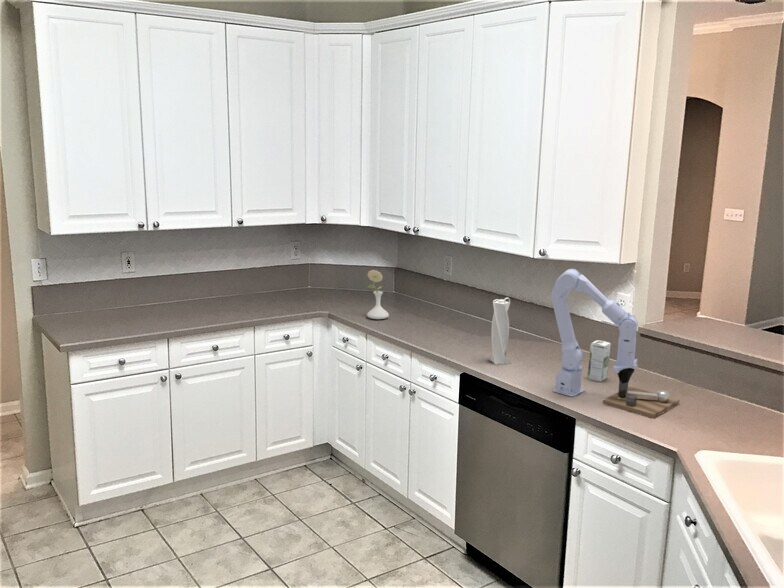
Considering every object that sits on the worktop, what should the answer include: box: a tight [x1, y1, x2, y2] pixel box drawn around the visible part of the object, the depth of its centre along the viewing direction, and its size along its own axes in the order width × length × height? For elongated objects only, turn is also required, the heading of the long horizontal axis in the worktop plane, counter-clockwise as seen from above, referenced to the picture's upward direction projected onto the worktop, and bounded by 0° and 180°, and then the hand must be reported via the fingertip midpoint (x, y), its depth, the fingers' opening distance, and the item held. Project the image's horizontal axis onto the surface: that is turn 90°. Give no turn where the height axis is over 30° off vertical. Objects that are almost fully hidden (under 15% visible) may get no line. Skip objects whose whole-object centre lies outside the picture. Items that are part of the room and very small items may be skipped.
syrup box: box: [586, 339, 612, 383], centre depth 255 cm, size 6×6×14 cm
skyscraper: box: [489, 297, 512, 365], centre depth 273 cm, size 8×8×28 cm
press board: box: [602, 386, 680, 419], centre depth 231 cm, size 20×18×4 cm
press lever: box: [617, 381, 670, 402], centre depth 231 cm, size 4×16×5 cm, turn 77°
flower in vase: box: [366, 269, 390, 320], centre depth 344 cm, size 13×11×25 cm
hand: (623, 388), depth 235 cm, fingers closed
